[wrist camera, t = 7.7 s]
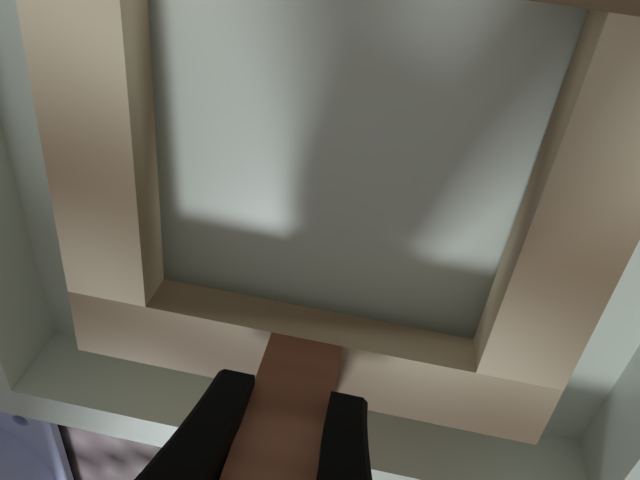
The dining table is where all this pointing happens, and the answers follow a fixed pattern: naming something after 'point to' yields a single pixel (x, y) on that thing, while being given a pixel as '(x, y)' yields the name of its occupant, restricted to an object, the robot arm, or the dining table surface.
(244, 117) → the sage tray
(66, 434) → the dining table surface
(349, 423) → the robot arm
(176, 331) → the birch frame
